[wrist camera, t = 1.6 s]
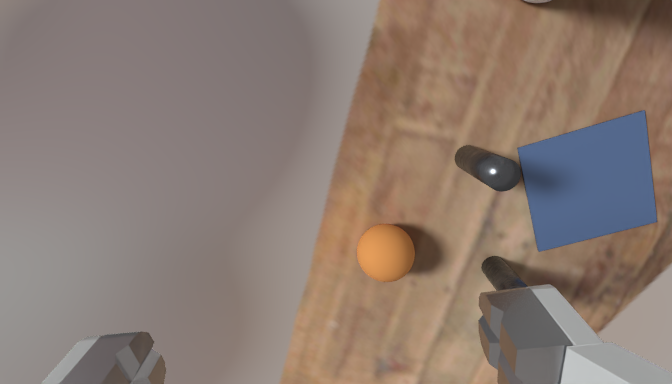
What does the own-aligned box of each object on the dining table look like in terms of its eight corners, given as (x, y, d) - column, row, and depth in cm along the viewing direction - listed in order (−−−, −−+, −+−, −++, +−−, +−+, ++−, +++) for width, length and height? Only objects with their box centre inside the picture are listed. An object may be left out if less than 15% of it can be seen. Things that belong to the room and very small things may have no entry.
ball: (416, 257, 38) (426, 284, 32) (366, 270, 39) (367, 299, 33) (402, 209, 37) (410, 229, 31) (350, 224, 37) (348, 246, 32)
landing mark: (655, 221, 35) (656, 221, 35) (538, 250, 37) (539, 251, 37) (643, 110, 32) (644, 110, 32) (517, 148, 34) (518, 148, 34)
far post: (507, 273, 38) (551, 324, 29) (484, 279, 38) (521, 331, 29) (502, 253, 37) (546, 299, 28) (479, 259, 37) (515, 306, 29)
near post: (482, 165, 35) (523, 185, 26) (457, 172, 35) (490, 195, 26) (477, 141, 34) (517, 154, 26) (452, 149, 35) (483, 164, 26)
